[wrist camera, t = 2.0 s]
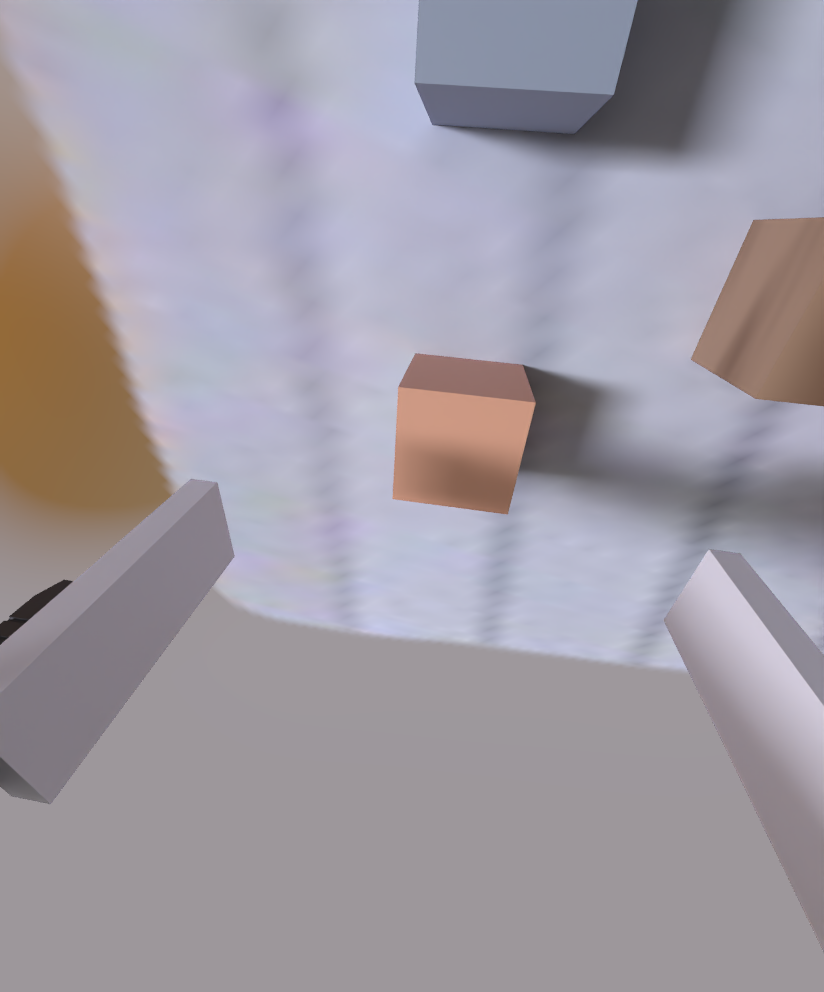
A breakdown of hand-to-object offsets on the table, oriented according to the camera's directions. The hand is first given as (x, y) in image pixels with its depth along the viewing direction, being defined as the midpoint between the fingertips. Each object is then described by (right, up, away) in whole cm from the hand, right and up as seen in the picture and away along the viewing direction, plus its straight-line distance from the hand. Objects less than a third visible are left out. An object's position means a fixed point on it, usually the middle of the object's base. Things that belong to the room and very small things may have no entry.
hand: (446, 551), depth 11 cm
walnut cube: (+14, +9, +5) cm, 17 cm away
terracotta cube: (+1, +6, +9) cm, 11 cm away
